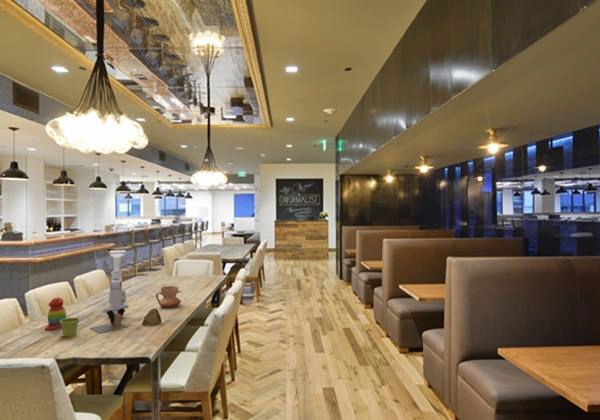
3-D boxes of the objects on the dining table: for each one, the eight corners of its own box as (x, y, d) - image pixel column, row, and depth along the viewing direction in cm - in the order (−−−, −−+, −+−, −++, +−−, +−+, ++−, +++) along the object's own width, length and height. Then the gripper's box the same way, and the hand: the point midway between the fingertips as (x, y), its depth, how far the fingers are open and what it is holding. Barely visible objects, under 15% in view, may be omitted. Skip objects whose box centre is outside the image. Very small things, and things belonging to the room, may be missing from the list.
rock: (137, 322, 225) (153, 320, 224) (141, 309, 230) (156, 307, 229) (146, 328, 233) (161, 327, 232) (149, 315, 239) (164, 314, 238)
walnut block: (111, 325, 225) (111, 313, 225) (116, 324, 228) (116, 312, 228) (115, 327, 221) (115, 315, 221) (121, 326, 224) (121, 314, 224)
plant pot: (75, 331, 215) (75, 316, 215) (82, 334, 209) (82, 319, 209) (57, 335, 208) (57, 320, 208) (63, 339, 202) (63, 323, 202)
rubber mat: (89, 328, 220) (89, 327, 220) (117, 322, 233) (117, 321, 233) (99, 333, 211) (99, 332, 211) (127, 326, 224) (127, 326, 224)
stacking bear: (48, 325, 226) (49, 296, 226) (68, 323, 229) (68, 295, 229) (43, 331, 216) (43, 300, 216) (63, 329, 219) (63, 299, 219)
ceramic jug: (183, 303, 280) (183, 284, 280) (179, 308, 266) (179, 288, 266) (158, 304, 278) (158, 285, 278) (153, 309, 263) (153, 289, 264)
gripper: (106, 303, 217) (106, 326, 217) (130, 298, 228) (130, 320, 228) (101, 301, 221) (101, 324, 221) (125, 296, 233) (125, 318, 232)
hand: (115, 322), depth 225 cm, fingers open, 4 cm apart
